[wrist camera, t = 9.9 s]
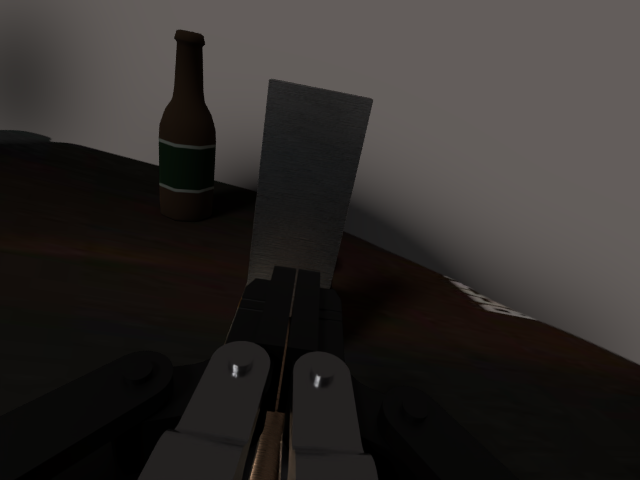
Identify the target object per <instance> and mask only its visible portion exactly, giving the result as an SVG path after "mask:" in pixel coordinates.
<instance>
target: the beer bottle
mask: <svg viewBox="0 0 640 480" xmlns="http://www.w3.org/2000/svg"><path fill="white" fill-rule="evenodd" d="M174 39H175V40H176V41H177V50H176V67H175V84H174V92H173V97H172V100H171V101H170V103H169V104H168V105H167V107H166V108H165V111H164V113H163V116H162V119H161V122H160V127H159V180H160V209H161V213H162V215H164V216H166V217H169V218H171V219H173V220H175V221H193V222H197V221H200V220H202V219H205V218H208V217H210V216H211V214H212V206H213V189H214V169H215V149H216V135H215V134H216V132H215V127H214V123H213V119H212V116H211V114H210V112H209V110H208V108H207V106H206V104H205V101H204V93H203V54H202V47H203V46H204V45H205V41H204V36H203V35H201V34H199V33H194V32H190V31H185V30H177V31H176V34H175V37H174Z"/></svg>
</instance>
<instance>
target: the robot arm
mask: <svg viewBox="0 0 640 480" xmlns="http://www.w3.org/2000/svg"><path fill="white" fill-rule="evenodd" d="M296 269H297V268H290V267H283V266H276V265H275V266H274V269H273V273H272V277H271V280H266V279H259V278H255V279H254V280H253V281H252V282H251V283H249V284H248V285H247V286H246V287H245V290H244V293H243V296H242V300H241V301H240V304H239V308H238V310H237V312H236V315H235V318H234V321H233V323H232V326H231V329H230V332H229V335H228V337H227V340H226V343H225V345H223V346H221V347H220V348H219V349H217V350H216V352H215V353H214V354H213V356H212V357H211V358H210V359H209V360H206V361H204V362H201V363H197V364H192V365H184V366H176V367H173V365H172V363H171V361H170V360H169V359H168V358H167V357H166V356H165V355H163V354H161V353H158V352H153V351H139V352H134V353H131V354H128V355H125V356H123V357H121V358H119V359H117V360H115V361H113V362H110V363H108V364H106V365H104V366H102V367H100V368H98V369H96V370H94V371H92V372H90V373H88V374H86V375H84V376H82V377H80V378H78V379H76V380H74V381H72V382H69V383H67V384H65V385H63V386H61V387H59V388H57V389H55V390H53V391H51V392H49V393H47V394H45V395H43V396H41V397H39V398H37V399H35V400H33V401H31V402H28V403H26V404H24V405H22V406H20V407H18V408H16V409H14V410H12V411H10V412H8V413H6V414H4V415H2V416H0V480H250V477H251V473H252V469H253V465H254V461H255V458H256V454H257V450H258V446H259V442H260V437H261V435H262V432H263V430H264V427H265V421H266V415H267V411H271V412H275V407H276V400H277V394H278V387H279V381H280V374H281V368H282V362H283V355H284V349H285V342H286V335H287V329H288V322H289V316H290V309H291V302H292V296H293V289H294V283H295V276H296ZM277 412H280V413H285V416H284V424H283V431H282V437H281V443H280V463H279V480H519V479H518V478H517V477H516V476H515V475H514V474H513V473H511V472H510V471H509V470H508V469H507V468H506V467H505V466H504V465H503V464H502V463H501V462H500V461H499V460H498V459H496V458H495V457H494V456H493V455H492V454H491V453H490V452H489V451H488V450H487V449H486V448H485V447H484V446H482V445H481V444H480V443H479V442H478V441H477V440H476V439H475V438H474V437H473V436H472V435H471V434H470V433H469V432H467V431H466V430H465V429H464V428H463V427H462V426H461V425H460V424H459V423H458V422H457V421H456V420H455V419H453V418H452V417H451V416H450V415H449V414H448V413H447V412H446V411H445V410H444V409H443V408H442V407H441V406H440V405H438V404H437V403H436V402H435V401H434V400H433V399H432V398H431V397H430V396H428V395H427V394H426V393H424V392H422V391H420V390H418V389H416V388H413V387H408V386H398V387H394V388H392V389H390V390H389V391H388V392H387V393H386V394H383V393H380V392H378V391H376V390H373V389H371V388H369V387H367V386H365V385H363V384H361V383H360V382H358V381H357V380H356V379H355V378H354V377H353V376H352V375H351V374H350V371H349V369H348V367H347V366H346V364H345V360H344V343H343V324H342V305H341V299H340V297H339V296H338V294H337V293H336V291H335V290H334V289H328V288H321V287H320V272H317V271H311V270H304V269H298V276H297V282H296V288H295V295H294V301H293V307H292V314H291V320H290V327H289V334H288V341H287V348H286V355H285V362H284V369H283V375H282V382H281V389H280V396H279V403H278V410H277Z"/></svg>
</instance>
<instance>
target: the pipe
mask: <svg viewBox="0 0 640 480" xmlns="http://www.w3.org/2000/svg"><path fill="white" fill-rule="evenodd" d="M290 320H291V317H289V322H288V329H287V335H286V342H285V349H284V355H283V362H282V368H281V374H280V381H279V387H278V394H277V400H276V407H275V412H271V411H267V415H266V421H265V427H264V430H263V432H262V435H261V437H260V442H259V446H258V450H257V454H256V458H255V461H254V465H253V469H252V473H251V477H250V480H279V463H280V443H281V437H282V431H283V424H284V416H285V413H280V412H277V410H278V403H279V396H280V389H281V382H282V375H283V369H284V362H285V355H286V348H287V341H288V334H289V327H290Z"/></svg>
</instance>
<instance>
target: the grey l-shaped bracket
mask: <svg viewBox="0 0 640 480" xmlns="http://www.w3.org/2000/svg"><path fill="white" fill-rule="evenodd" d="M372 103H373V100H372V99H371V98H367V97H362V96H357V95H352V94H347V93H341V92H336V91H331V90H326V89H321V88H316V87H311V86H306V85H301V84H295V83H291V82H285V81H280V80H275V79H270V80H269V87H268V95H267V106H266V114H265V123H264V132H263V142H262V151H261V160H260V170H259V179H258V188H257V197H256V207H255V216H254V225H253V234H252V244H251V253H250V262H249V272H248V281H247V285H248V284H249V283H251V282H252V281H253V280H254V279H255V278H259V279H266V280H271V277H272V273H273V269H274V266H275V265H276V266H283V267H290V268H297V269H296V276H295V283H294V289H293V296H292V302H291V309H290V316H289V317H291V314H292V307H293V301H294V295H295V288H296V282H297V276H298V269H304V270H311V271H317V272H320V287H321V288H328V289H330V286H331V282H332V277H333V273H334V269H335V264H336V260H337V256H338V251H339V247H340V243H341V238H342V234H343V229H344V225H345V220H346V216H347V212H348V208H349V203H350V198H351V194H352V190H353V186H354V181H355V177H356V173H357V168H358V164H359V160H360V155H361V151H362V147H363V142H364V138H365V133H366V129H367V125H368V120H369V116H370V111H371V107H372Z"/></svg>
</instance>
